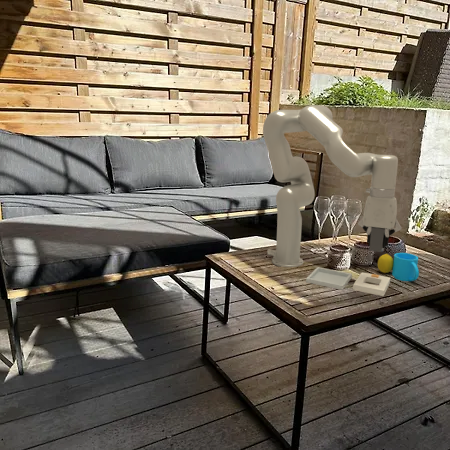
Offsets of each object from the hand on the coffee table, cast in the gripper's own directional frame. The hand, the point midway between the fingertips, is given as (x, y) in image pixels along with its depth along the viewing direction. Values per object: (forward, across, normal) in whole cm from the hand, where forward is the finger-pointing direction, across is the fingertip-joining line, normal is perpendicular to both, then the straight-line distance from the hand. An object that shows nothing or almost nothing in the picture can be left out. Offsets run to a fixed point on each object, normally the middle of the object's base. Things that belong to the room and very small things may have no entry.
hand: (377, 245), depth 142 cm
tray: (+15, -15, -2) cm, 22 cm away
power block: (+15, 0, 0) cm, 15 cm away
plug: (+1, 0, 0) cm, 1 cm away
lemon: (+16, +1, +16) cm, 23 cm away
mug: (+16, +9, +15) cm, 24 cm away
